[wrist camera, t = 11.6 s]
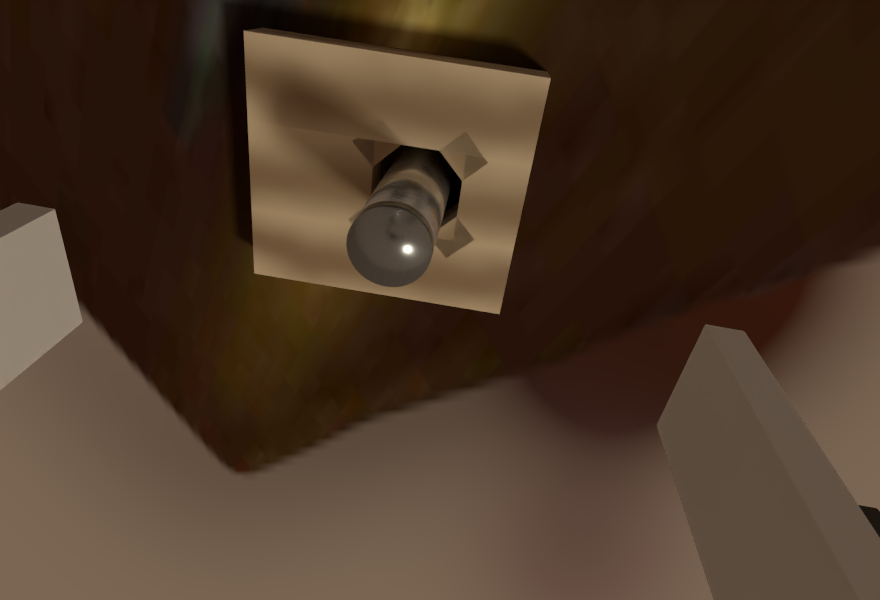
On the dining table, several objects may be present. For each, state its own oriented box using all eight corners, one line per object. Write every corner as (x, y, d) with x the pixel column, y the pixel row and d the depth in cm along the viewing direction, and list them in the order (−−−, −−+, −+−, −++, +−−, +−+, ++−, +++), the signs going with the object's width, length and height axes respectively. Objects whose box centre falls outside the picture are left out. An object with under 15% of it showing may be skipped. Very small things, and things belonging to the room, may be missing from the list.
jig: (263, 27, 34) (243, 30, 32) (547, 71, 34) (550, 78, 31) (269, 256, 42) (254, 273, 40) (499, 294, 42) (499, 314, 39)
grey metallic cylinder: (392, 142, 37) (348, 200, 27) (456, 152, 37) (437, 215, 27) (387, 203, 39) (344, 279, 29) (447, 213, 39) (426, 293, 29)
